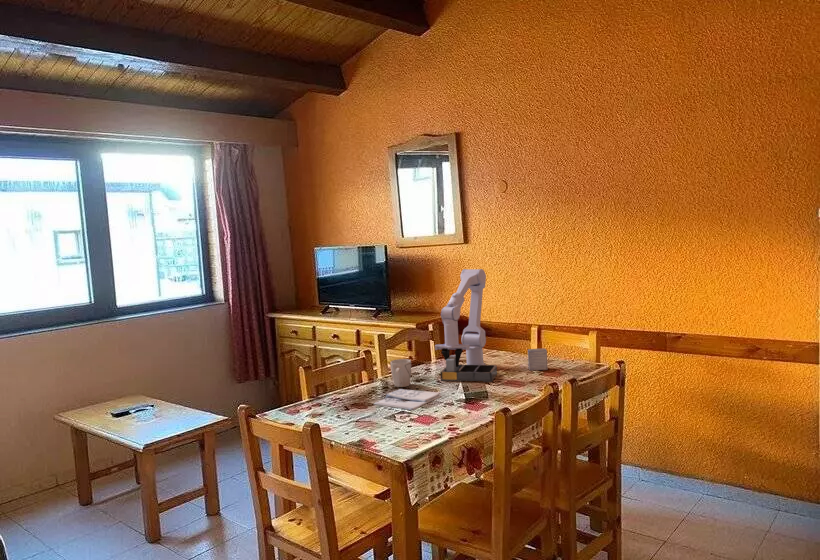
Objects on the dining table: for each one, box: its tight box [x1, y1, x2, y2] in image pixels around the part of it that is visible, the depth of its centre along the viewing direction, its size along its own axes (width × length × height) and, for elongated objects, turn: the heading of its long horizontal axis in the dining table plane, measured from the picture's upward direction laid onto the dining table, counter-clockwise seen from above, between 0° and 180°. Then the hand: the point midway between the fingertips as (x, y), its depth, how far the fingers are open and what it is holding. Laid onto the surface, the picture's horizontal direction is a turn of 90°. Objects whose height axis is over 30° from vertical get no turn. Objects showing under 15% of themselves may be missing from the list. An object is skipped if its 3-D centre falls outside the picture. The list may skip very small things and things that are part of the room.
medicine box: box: [527, 348, 549, 371], centre depth 265 cm, size 8×4×9 cm, turn 84°
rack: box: [440, 364, 498, 383], centre depth 258 cm, size 14×21×4 cm, turn 73°
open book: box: [373, 388, 442, 411], centre depth 229 cm, size 19×20×2 cm
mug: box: [390, 358, 412, 388], centre depth 249 cm, size 11×8×10 cm
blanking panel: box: [445, 354, 459, 372], centre depth 259 cm, size 9×3×7 cm, turn 163°
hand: (453, 366), depth 259 cm, fingers closed on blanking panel, 3 cm apart
